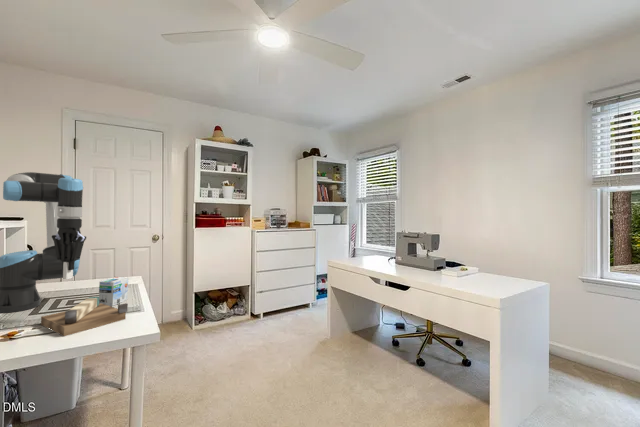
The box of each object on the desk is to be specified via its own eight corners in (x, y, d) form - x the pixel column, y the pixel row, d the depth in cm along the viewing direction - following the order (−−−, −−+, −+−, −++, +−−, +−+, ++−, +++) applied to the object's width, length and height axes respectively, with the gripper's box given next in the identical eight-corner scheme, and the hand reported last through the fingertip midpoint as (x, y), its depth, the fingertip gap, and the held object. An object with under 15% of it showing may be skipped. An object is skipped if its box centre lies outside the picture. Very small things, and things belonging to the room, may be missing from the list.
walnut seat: (40, 324, 113) (41, 308, 113) (102, 310, 131) (103, 295, 131) (64, 336, 104) (65, 318, 104) (127, 318, 122) (127, 303, 122)
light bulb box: (112, 306, 136) (113, 282, 136) (97, 305, 136) (98, 281, 136) (128, 299, 146) (129, 277, 146) (114, 298, 147) (115, 276, 147)
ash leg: (74, 323, 107) (74, 312, 107) (62, 324, 106) (62, 313, 106) (98, 305, 127) (99, 296, 127) (88, 305, 126) (89, 296, 126)
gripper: (45, 217, 117) (43, 279, 117) (76, 218, 116) (74, 281, 116) (63, 217, 125) (62, 275, 125) (93, 218, 123) (91, 277, 123)
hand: (67, 278), depth 120 cm, fingers closed
